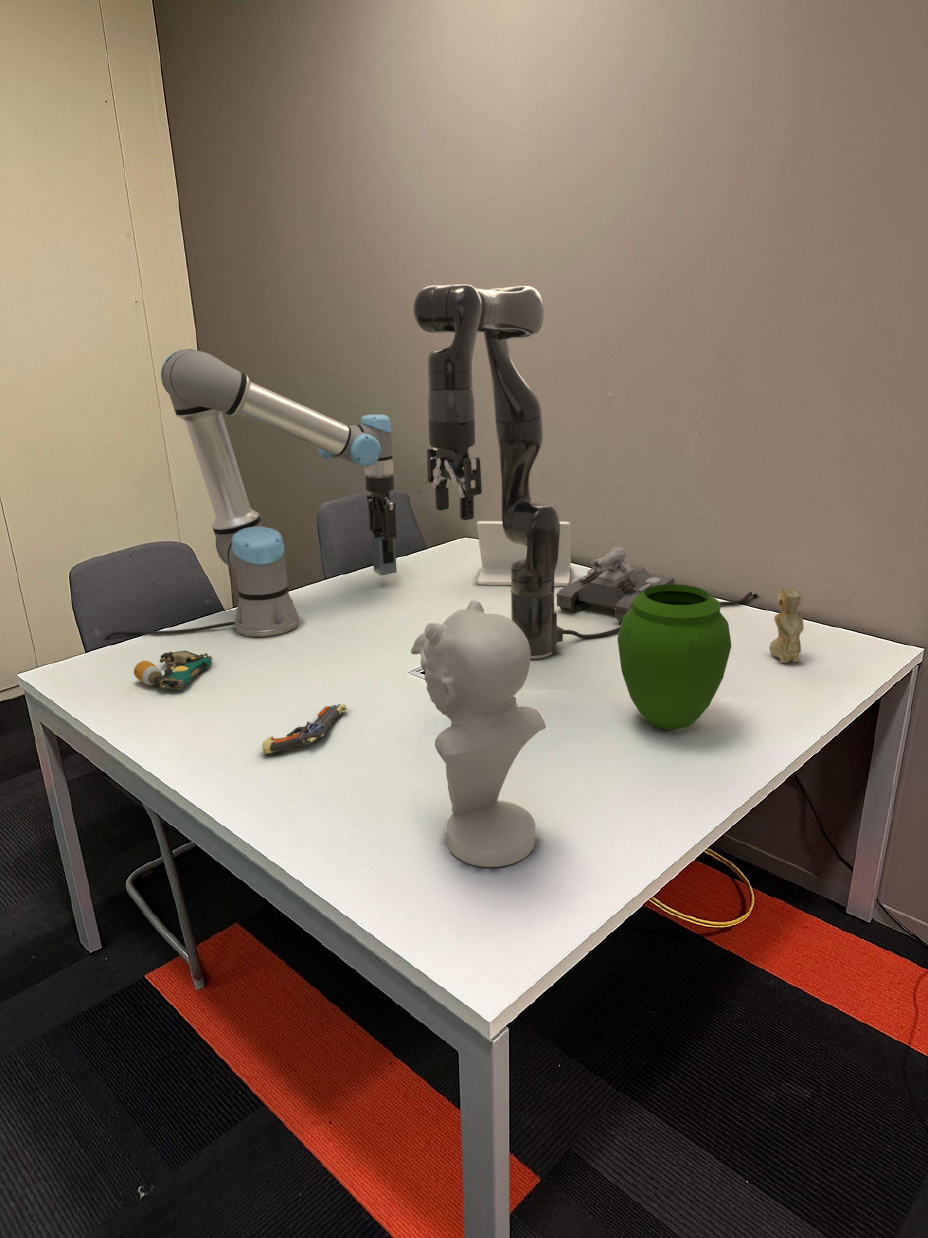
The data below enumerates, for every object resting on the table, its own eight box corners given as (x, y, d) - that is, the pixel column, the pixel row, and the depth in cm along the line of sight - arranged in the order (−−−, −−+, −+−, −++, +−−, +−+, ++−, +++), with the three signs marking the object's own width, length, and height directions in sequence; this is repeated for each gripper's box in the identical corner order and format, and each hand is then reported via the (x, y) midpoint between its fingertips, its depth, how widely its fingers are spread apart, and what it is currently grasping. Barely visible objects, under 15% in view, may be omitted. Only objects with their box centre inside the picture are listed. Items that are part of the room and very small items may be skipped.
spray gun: (177, 659, 191) (231, 671, 185) (120, 684, 176) (176, 698, 171) (176, 641, 190) (230, 653, 184) (118, 665, 175) (174, 678, 169)
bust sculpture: (481, 772, 140) (476, 569, 128) (565, 848, 120) (569, 617, 108) (392, 800, 134) (378, 588, 121) (465, 886, 114) (457, 642, 101)
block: (389, 568, 237) (387, 535, 233) (396, 572, 233) (395, 538, 229) (373, 571, 234) (371, 537, 231) (380, 575, 231) (378, 541, 227)
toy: (603, 584, 229) (605, 530, 224) (673, 597, 218) (677, 540, 213) (555, 612, 210) (556, 553, 205) (630, 627, 199) (633, 566, 194)
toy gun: (257, 744, 147) (311, 741, 145) (297, 702, 165) (346, 699, 162) (260, 758, 147) (314, 756, 145) (300, 715, 165) (349, 712, 163)
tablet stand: (569, 585, 229) (570, 524, 223) (476, 584, 232) (475, 523, 226) (570, 566, 246) (571, 508, 240) (484, 564, 249) (483, 507, 243)
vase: (737, 711, 158) (749, 586, 150) (704, 757, 143) (715, 621, 134) (638, 689, 168) (643, 571, 160) (597, 730, 153) (601, 602, 144)
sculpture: (791, 651, 184) (798, 585, 178) (805, 664, 177) (813, 596, 172) (764, 652, 183) (771, 586, 178) (777, 666, 177) (784, 597, 171)
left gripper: (353, 471, 230) (359, 554, 238) (380, 482, 215) (385, 570, 223) (378, 468, 233) (383, 550, 241) (407, 478, 219) (411, 565, 227)
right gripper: (411, 414, 143) (415, 509, 148) (452, 423, 131) (455, 526, 137) (450, 410, 146) (453, 503, 152) (494, 419, 134) (495, 519, 140)
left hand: (384, 560), depth 232 cm, fingers closed on block, 5 cm apart
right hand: (454, 514), depth 144 cm, fingers open, 8 cm apart
